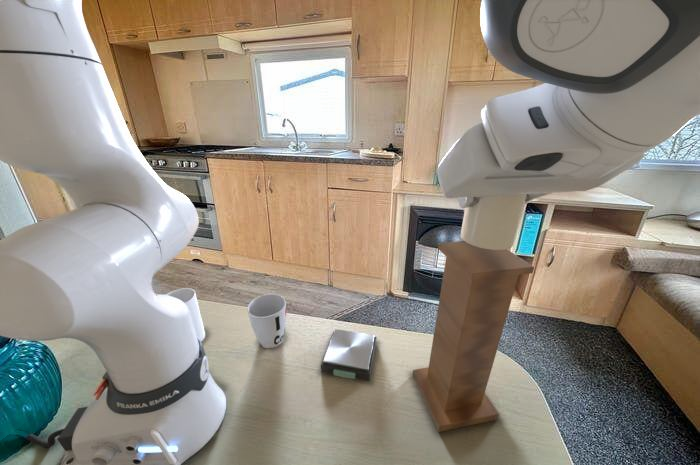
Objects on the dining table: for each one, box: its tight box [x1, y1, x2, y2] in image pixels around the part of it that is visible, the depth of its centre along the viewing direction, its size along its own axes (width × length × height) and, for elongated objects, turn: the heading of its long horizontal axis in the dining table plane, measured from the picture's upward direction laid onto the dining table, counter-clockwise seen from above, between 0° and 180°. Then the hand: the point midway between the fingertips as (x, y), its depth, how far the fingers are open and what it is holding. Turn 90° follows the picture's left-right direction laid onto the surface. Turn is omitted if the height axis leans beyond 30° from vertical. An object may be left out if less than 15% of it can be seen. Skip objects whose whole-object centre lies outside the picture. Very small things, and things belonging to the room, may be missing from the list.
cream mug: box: [459, 194, 527, 250], centre depth 38 cm, size 7×9×10 cm
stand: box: [412, 240, 535, 433], centre depth 46 cm, size 11×11×30 cm
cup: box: [246, 293, 287, 349], centre depth 62 cm, size 8×8×10 cm
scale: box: [320, 328, 377, 382], centre depth 59 cm, size 10×10×3 cm
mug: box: [165, 287, 206, 343], centre depth 60 cm, size 10×7×12 cm, turn 178°
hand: (490, 201), depth 37 cm, fingers closed on cream mug, 7 cm apart
